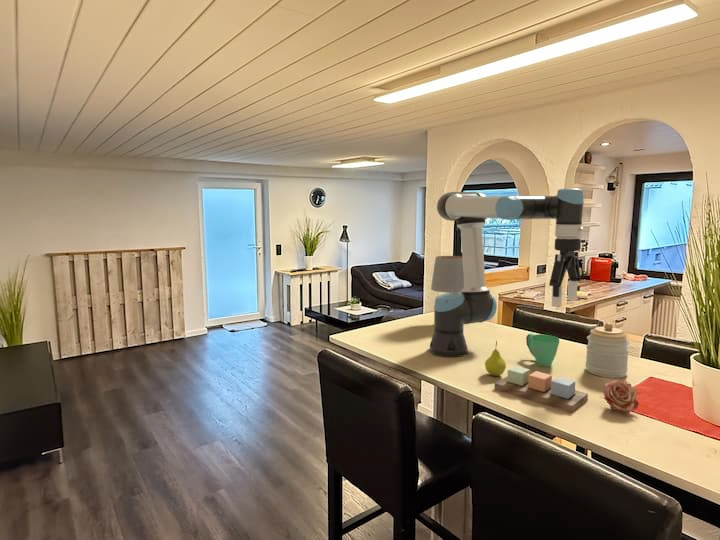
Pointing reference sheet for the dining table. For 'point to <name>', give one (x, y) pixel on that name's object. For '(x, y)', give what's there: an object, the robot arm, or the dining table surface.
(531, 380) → the button terracotta
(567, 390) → the button slate
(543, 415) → the dining table surface
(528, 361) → the dining table surface
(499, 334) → the dining table surface
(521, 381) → the button sage
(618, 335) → the jar
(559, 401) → the button board
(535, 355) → the mug
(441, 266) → the lamp
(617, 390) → the flower
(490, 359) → the fruit
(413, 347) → the dining table surface
